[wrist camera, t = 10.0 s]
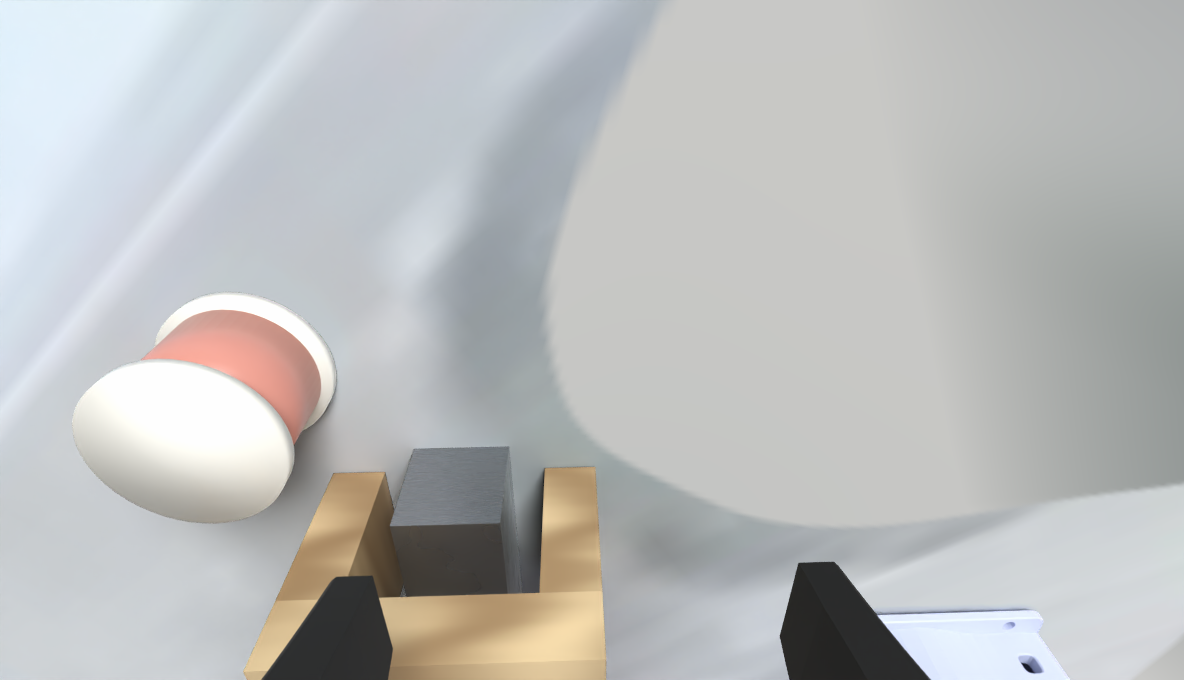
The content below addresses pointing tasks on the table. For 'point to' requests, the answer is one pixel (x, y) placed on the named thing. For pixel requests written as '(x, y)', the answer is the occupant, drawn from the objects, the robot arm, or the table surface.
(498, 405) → the table surface
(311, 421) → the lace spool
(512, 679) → the wooden u-shaped cradle
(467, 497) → the dark grey bar
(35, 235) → the table surface
